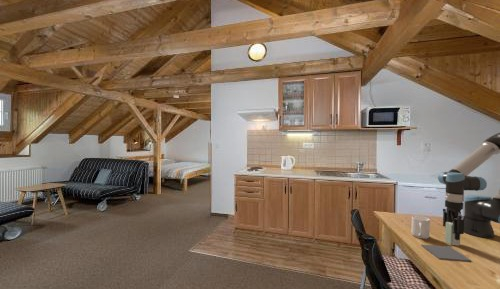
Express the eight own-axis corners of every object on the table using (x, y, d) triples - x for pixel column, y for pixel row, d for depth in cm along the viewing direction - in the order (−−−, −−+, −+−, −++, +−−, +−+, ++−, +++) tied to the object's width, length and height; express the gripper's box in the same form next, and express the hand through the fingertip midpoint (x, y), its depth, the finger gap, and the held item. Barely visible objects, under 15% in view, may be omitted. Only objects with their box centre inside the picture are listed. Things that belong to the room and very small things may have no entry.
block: (453, 241, 130) (454, 222, 130) (459, 245, 125) (460, 225, 125) (444, 241, 131) (445, 221, 130) (450, 244, 126) (451, 224, 126)
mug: (411, 238, 133) (411, 220, 133) (411, 231, 143) (411, 214, 143) (430, 242, 128) (430, 223, 128) (428, 235, 138) (429, 217, 138)
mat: (449, 247, 123) (450, 246, 123) (471, 261, 109) (471, 260, 109) (421, 245, 125) (421, 244, 125) (438, 259, 111) (438, 257, 111)
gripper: (436, 196, 136) (434, 235, 137) (458, 205, 119) (456, 249, 120) (450, 197, 135) (448, 236, 136) (474, 206, 118) (472, 251, 119)
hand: (452, 242), depth 128 cm, fingers closed on block, 4 cm apart
